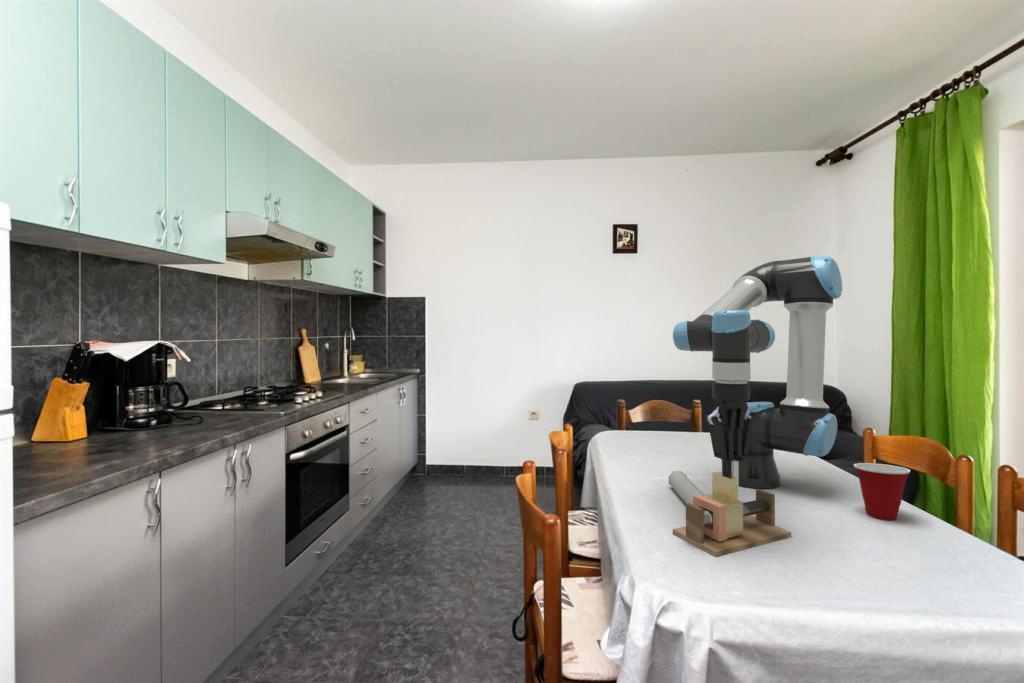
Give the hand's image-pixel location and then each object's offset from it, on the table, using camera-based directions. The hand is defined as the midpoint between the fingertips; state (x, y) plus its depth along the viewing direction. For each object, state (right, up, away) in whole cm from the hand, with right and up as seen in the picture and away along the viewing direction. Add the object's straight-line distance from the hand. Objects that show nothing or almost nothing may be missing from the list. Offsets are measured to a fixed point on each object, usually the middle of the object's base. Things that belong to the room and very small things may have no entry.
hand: (730, 489), depth 104 cm
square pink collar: (-6, -9, -2) cm, 11 cm away
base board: (0, -10, 0) cm, 10 cm away
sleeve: (-2, -9, -1) cm, 9 cm away
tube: (-1, -10, +20) cm, 22 cm away
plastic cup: (+41, -10, +10) cm, 43 cm away
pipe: (0, -7, 0) cm, 7 cm away
